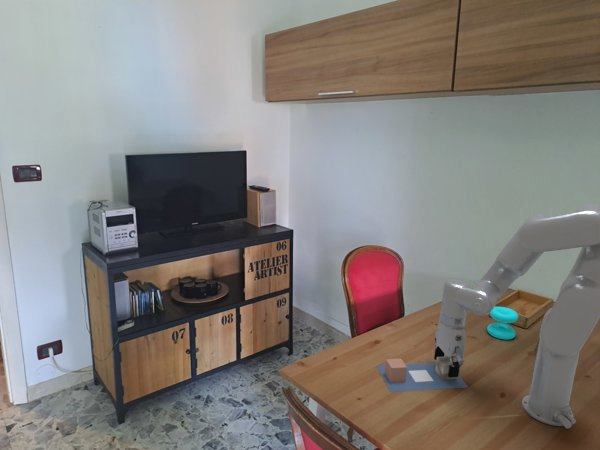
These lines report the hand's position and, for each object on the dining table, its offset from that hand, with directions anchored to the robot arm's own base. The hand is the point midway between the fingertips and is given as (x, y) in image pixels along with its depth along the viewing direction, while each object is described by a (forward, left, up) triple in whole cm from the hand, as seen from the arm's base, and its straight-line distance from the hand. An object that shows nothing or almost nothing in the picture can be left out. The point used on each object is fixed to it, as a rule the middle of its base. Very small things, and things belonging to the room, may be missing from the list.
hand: (445, 367), depth 134 cm
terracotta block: (0, +17, -2) cm, 17 cm away
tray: (+43, -56, -4) cm, 71 cm away
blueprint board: (0, +8, -3) cm, 9 cm away
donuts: (+25, -35, -3) cm, 43 cm away
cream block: (0, 0, -2) cm, 2 cm away
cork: (+11, -43, -3) cm, 45 cm away
